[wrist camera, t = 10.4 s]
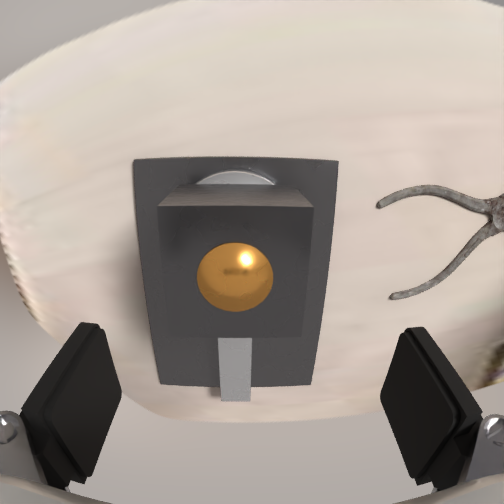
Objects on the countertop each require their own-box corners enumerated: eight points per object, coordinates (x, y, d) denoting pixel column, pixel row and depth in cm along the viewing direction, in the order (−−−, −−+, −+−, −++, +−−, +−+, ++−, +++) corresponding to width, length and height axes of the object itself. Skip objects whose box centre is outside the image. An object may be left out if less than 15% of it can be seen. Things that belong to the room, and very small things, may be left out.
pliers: (359, 213, 23) (525, 123, 20) (355, 210, 23) (519, 122, 21) (395, 311, 26) (541, 213, 23) (391, 306, 27) (536, 210, 24)
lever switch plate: (336, 160, 22) (368, 172, 16) (309, 385, 29) (320, 432, 24) (135, 159, 21) (102, 170, 15) (162, 385, 28) (151, 431, 23)
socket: (293, 185, 20) (314, 207, 14) (287, 287, 22) (301, 338, 17) (179, 184, 19) (156, 206, 14) (184, 286, 22) (169, 337, 16)
